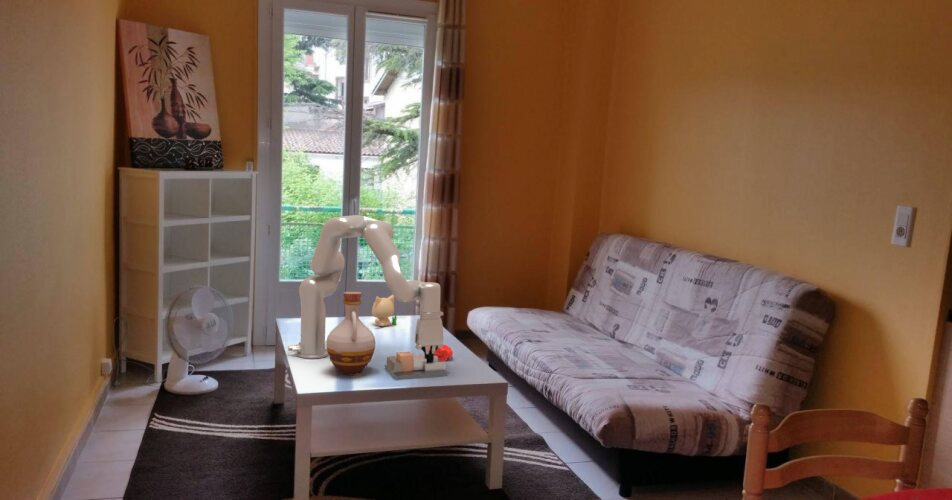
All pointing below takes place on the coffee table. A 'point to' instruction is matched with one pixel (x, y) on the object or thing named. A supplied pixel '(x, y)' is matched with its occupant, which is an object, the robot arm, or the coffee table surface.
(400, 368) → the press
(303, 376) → the coffee table surface
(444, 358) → the animal figurine
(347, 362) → the jug
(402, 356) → the block
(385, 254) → the robot arm
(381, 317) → the kitten
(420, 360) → the light grey sliding block
